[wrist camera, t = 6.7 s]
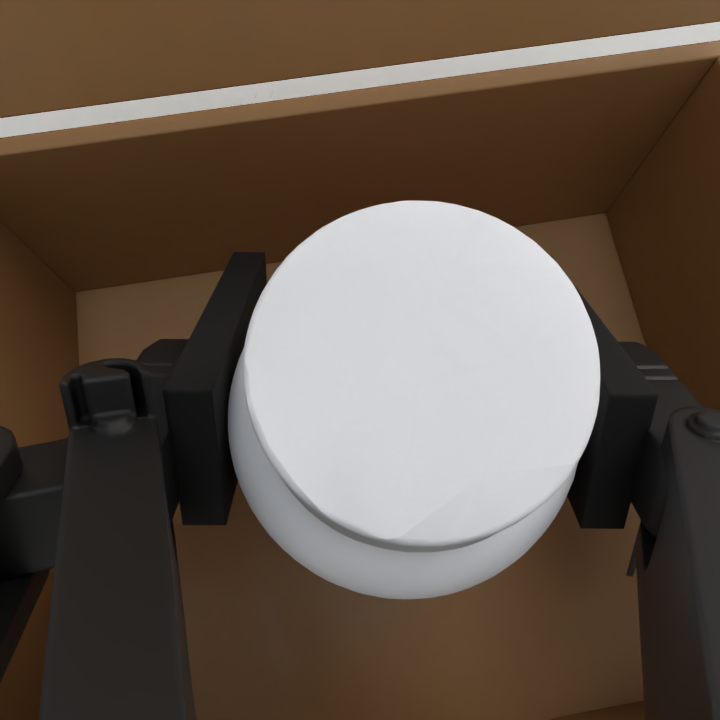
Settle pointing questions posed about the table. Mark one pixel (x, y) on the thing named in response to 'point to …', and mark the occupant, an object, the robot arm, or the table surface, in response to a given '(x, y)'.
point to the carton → (277, 239)
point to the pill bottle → (413, 399)
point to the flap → (276, 40)
